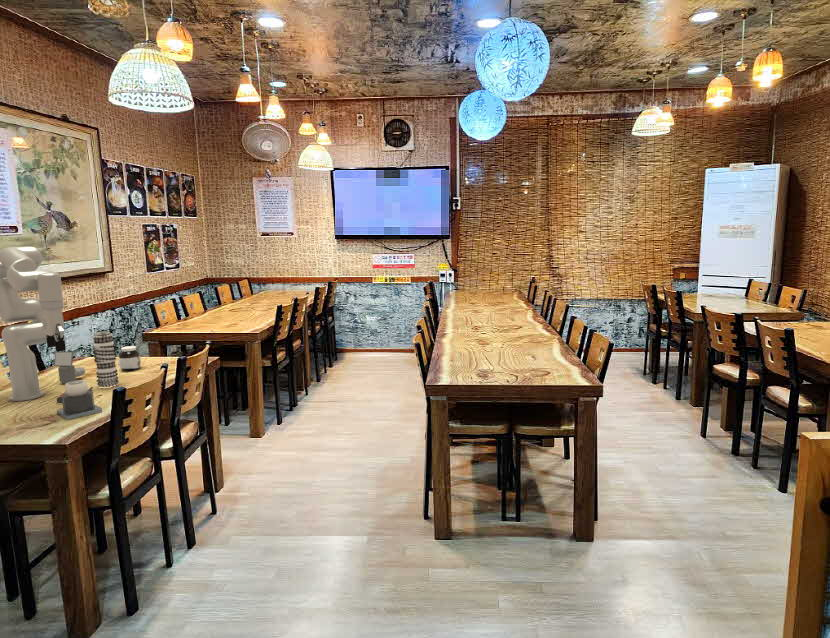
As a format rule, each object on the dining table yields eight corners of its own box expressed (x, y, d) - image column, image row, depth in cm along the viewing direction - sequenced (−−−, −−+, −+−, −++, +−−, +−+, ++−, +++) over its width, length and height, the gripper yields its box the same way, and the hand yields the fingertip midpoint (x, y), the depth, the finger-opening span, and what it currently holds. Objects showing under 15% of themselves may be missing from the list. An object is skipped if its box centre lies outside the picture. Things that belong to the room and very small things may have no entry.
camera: (90, 377, 268) (86, 347, 265) (73, 384, 256) (69, 352, 254) (73, 377, 269) (69, 347, 266) (55, 384, 257) (51, 352, 255)
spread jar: (132, 372, 277) (130, 349, 275) (111, 372, 278) (108, 349, 276) (145, 366, 288) (143, 344, 287) (125, 366, 289) (122, 344, 287)
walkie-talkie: (78, 404, 227) (95, 390, 247) (77, 393, 227) (94, 381, 246) (54, 405, 225) (73, 392, 245) (53, 395, 225) (72, 382, 244)
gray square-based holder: (57, 413, 214) (54, 394, 213) (90, 405, 223) (88, 387, 222) (67, 420, 206) (65, 400, 205) (102, 411, 215) (100, 393, 214)
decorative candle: (123, 383, 256) (118, 330, 252) (112, 388, 247) (106, 333, 243) (104, 383, 257) (98, 330, 253) (92, 389, 247) (86, 334, 243)
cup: (64, 402, 214) (62, 382, 212) (85, 397, 219) (83, 378, 218) (71, 405, 209) (68, 385, 208) (91, 401, 214) (89, 381, 213)
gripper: (33, 303, 213) (38, 346, 216) (48, 309, 202) (52, 354, 205) (55, 301, 219) (59, 343, 222) (70, 306, 208) (75, 351, 211)
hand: (56, 348), depth 214 cm, fingers open, 9 cm apart
